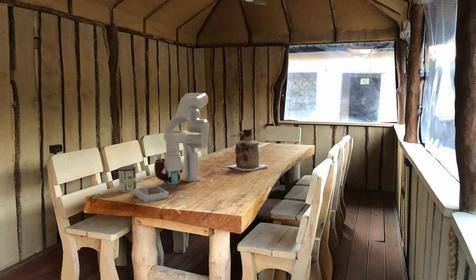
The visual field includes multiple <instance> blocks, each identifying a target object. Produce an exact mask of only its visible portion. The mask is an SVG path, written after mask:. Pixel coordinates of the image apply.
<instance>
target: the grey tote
mask: <svg viewBox="0 0 476 280" xmlns="http://www.w3.org/2000/svg"><path fill="white" fill-rule="evenodd" d="M153 187H157V188H159V189H160V193H157V194H151V195H148V188H153ZM134 190H135V191H134V195H135V197H137V198H139V199H140V200H141V201H143V202H144V203H148V202H153V201H160V200H165V199H169V198H170V197H169V196H170V195H169V193H170V192H169V191H167V190H165V189H162V188H160V187H159V186H156V185H152V186H144V187H138V188H137V187H136V189H134Z"/></svg>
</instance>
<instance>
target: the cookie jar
mask: <svg viewBox="0 0 476 280" xmlns="http://www.w3.org/2000/svg"><path fill="white" fill-rule="evenodd" d="M238 136H239V137H240V139H239V140H238V141H237V142H236V143H235V148H234V154H235V164H233V165H226V167H227V168H232V169H235V170H238V171H243V172H245V171H249V172H250V171H251V172H252V171H256V170H261V169H268V166H269V165H268V164H259V163H260V152H259V144H260V143H259V141H257V140H254V139H253V138H252V136H253V128H249V129H247V128H246V129H245V128H244V129H242V131H240V132H238Z"/></svg>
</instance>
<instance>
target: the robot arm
mask: <svg viewBox="0 0 476 280" xmlns="http://www.w3.org/2000/svg"><path fill="white" fill-rule="evenodd" d="M208 103H209V96H208V94H206V93H204V92H190V93H189V92H188V93H185V94H184V95H183V96H182V97H181V98H180V101H179V104H178V108H177V112H176V114H175V116H173V118H171V119H170V120H169V121H168V123H167V124H166V126H165V130H164V131H163V132H164V133H163V140H164V142H165V153H166V155H165V156H164V158H165V161H164V169H163V171H162V173H164V174H165V175H167V177H168V182H169V183H171V177H170V175H171V172H174V171H177V172H178V182H180V181H181V180H182V181H184V182H198V181H200V180H201V176H199V153H198V151H197V149H198V150H199V149H201V150H202V149H203V150H204V149H206V148H207V147H208V144H209V137H210V135H209V134H210V122H209V120H207V119H205V118H204V119H203V118H201V111H200V109H203V108H204V107H205V106H206V105H207V104H208ZM184 123H186V131H187V132H188V134H187V133H186V132H185V131H182V130H174V129H175V128H176V127H178V126H180V125H182V124H184ZM190 133H191V134H190ZM179 144H182V147H183V148H182V149H183V164H184V166H183V164H182V158H181V155H180V153H181V152H182V151H181V150H180V149H179ZM165 171H167V173H166V172H165ZM183 171H184V172H183ZM182 173H183V174H184V176H183V177H182V179H181V174H182Z"/></svg>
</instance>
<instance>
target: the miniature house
mask: <svg viewBox="0 0 476 280" xmlns="http://www.w3.org/2000/svg"><path fill="white" fill-rule="evenodd" d="M136 168H137V167H136V166H132V165H128V166H126V165H125V166H120V167H118V168H117V169H118V181H119V191H120V192H122V193H129V192H130V193H131V192H135V190H134V189H137V174H136V172H137V171H136Z"/></svg>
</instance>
